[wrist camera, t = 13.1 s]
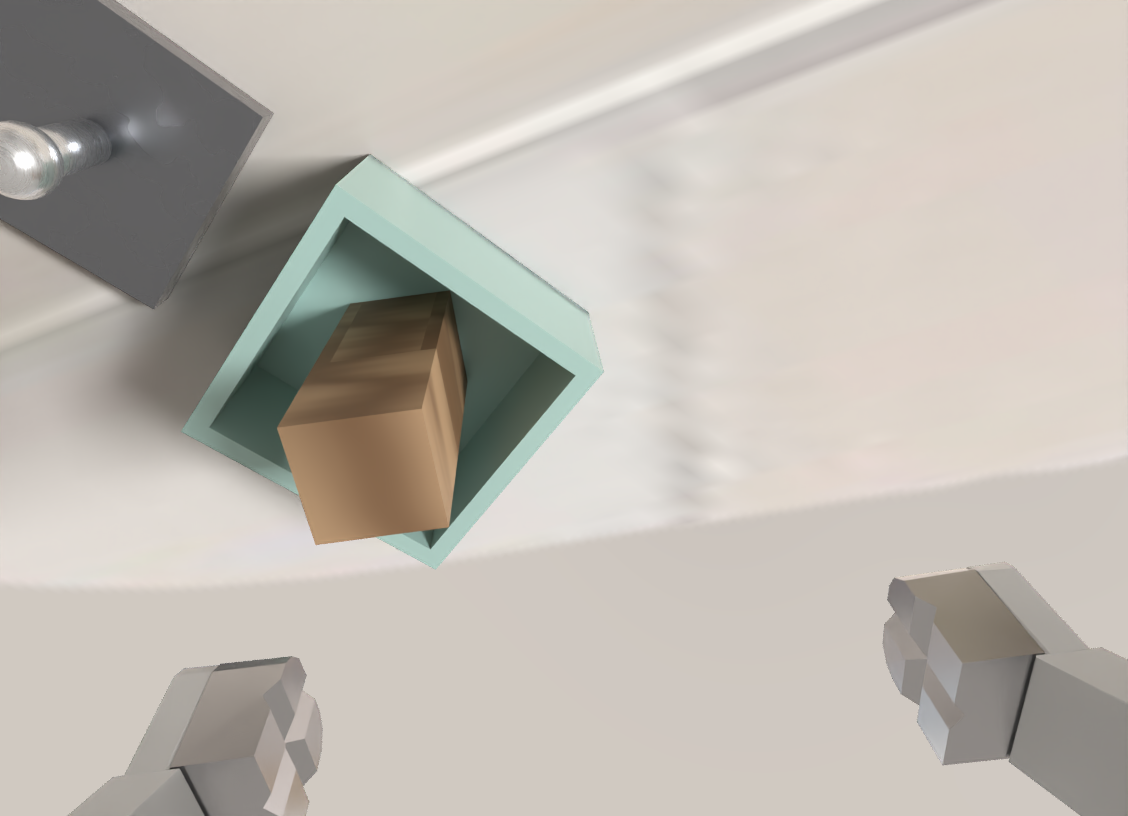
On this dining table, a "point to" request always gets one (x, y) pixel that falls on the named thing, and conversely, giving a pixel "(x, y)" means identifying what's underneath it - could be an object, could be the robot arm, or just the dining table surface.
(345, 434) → the walnut strut
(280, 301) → the sage bin
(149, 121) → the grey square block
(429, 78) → the dining table surface
